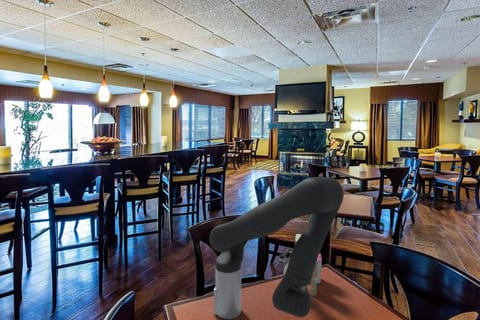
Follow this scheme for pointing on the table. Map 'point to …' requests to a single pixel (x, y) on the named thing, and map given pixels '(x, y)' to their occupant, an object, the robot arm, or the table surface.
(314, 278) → the tile
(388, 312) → the table surface
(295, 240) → the tile
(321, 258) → the supplement box
